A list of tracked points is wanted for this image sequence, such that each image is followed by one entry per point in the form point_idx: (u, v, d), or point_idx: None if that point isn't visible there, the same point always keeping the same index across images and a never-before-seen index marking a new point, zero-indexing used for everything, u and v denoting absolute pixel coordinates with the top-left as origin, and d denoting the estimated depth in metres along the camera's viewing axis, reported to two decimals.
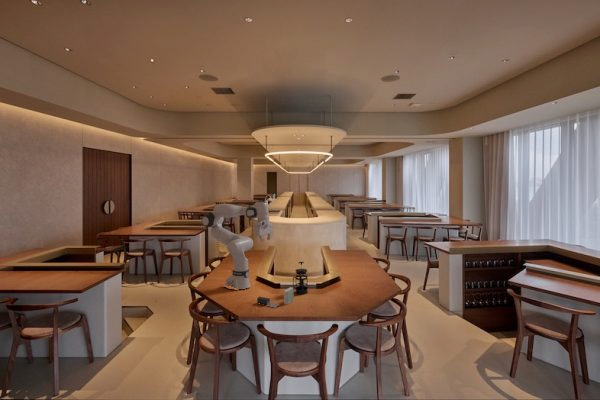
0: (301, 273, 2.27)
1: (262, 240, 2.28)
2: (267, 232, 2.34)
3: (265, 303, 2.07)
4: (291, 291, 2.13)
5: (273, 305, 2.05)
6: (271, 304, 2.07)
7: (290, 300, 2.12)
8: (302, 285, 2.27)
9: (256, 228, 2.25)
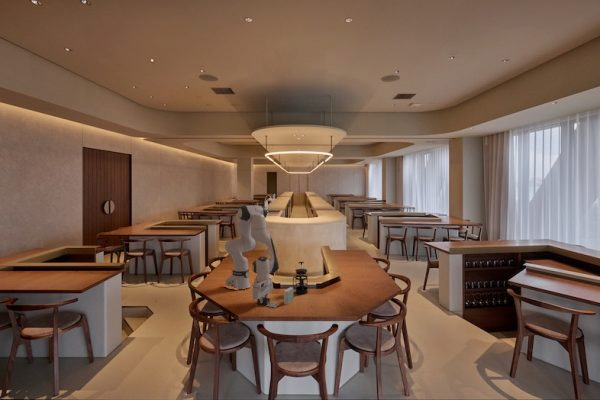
0: (301, 273, 2.27)
1: (262, 301, 2.07)
2: (266, 292, 2.10)
3: (265, 303, 2.08)
4: (291, 291, 2.13)
5: (273, 305, 2.05)
6: (271, 304, 2.07)
7: (290, 300, 2.12)
8: (302, 285, 2.27)
9: (254, 290, 2.01)
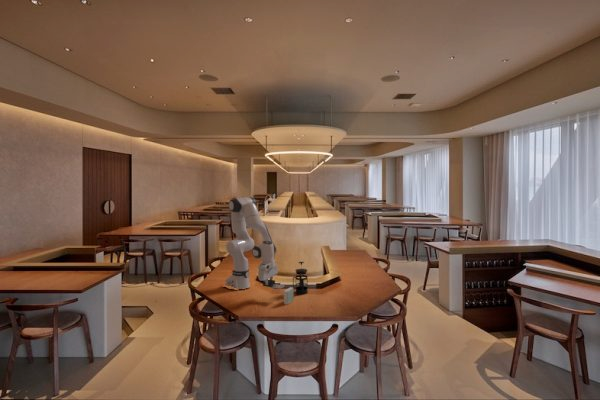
0: (301, 273, 2.27)
1: (267, 283, 2.16)
2: (271, 275, 2.19)
3: (271, 285, 2.17)
4: (291, 291, 2.13)
5: (278, 286, 2.14)
6: (276, 285, 2.16)
7: (290, 300, 2.12)
8: (302, 285, 2.27)
9: (260, 272, 2.11)
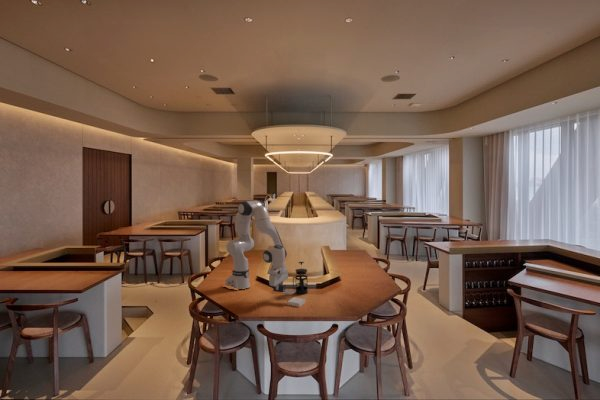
0: (301, 273, 2.27)
1: (278, 288, 2.13)
2: (282, 280, 2.16)
3: (281, 290, 2.13)
4: None
5: (289, 292, 2.11)
6: (287, 291, 2.13)
7: None
8: (302, 285, 2.27)
9: (271, 277, 2.07)
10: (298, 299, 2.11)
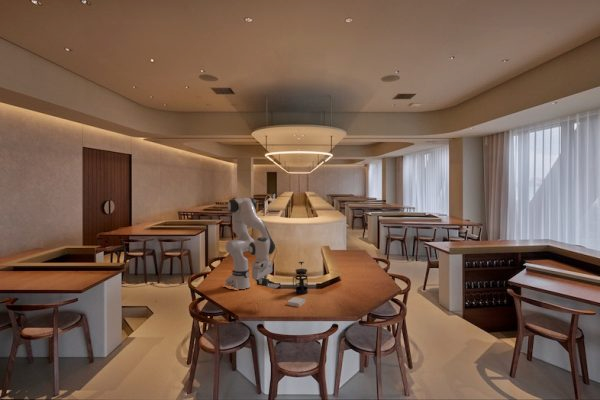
0: (301, 273, 2.27)
1: (261, 282, 2.05)
2: (265, 273, 2.08)
3: (265, 284, 2.05)
4: None
5: (273, 285, 2.03)
6: (271, 285, 2.05)
7: None
8: (302, 285, 2.27)
9: (254, 270, 1.99)
10: (298, 299, 2.11)
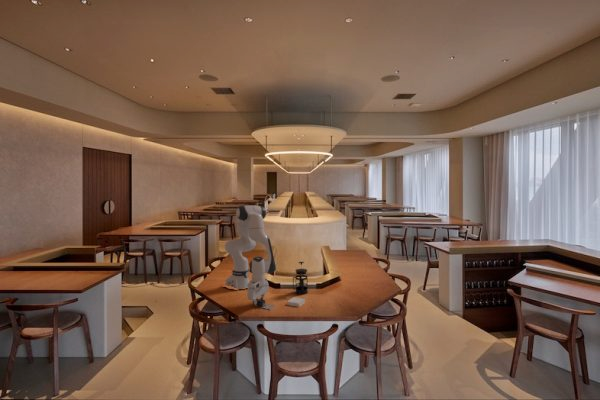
0: (301, 273, 2.27)
1: (256, 303, 2.03)
2: (261, 293, 2.07)
3: (261, 305, 2.04)
4: None
5: (269, 307, 2.02)
6: (267, 306, 2.04)
7: None
8: (302, 285, 2.27)
9: (249, 291, 1.98)
10: (298, 299, 2.11)
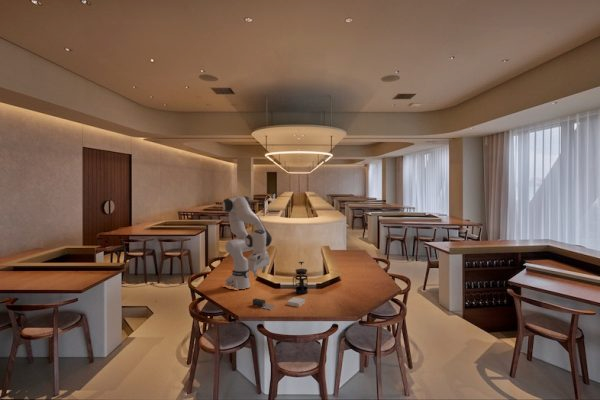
0: (301, 273, 2.27)
1: (256, 275, 2.04)
2: (262, 265, 2.09)
3: (261, 305, 2.04)
4: None
5: (269, 307, 2.02)
6: (267, 306, 2.04)
7: None
8: (302, 285, 2.27)
9: (250, 262, 2.01)
10: (298, 299, 2.11)
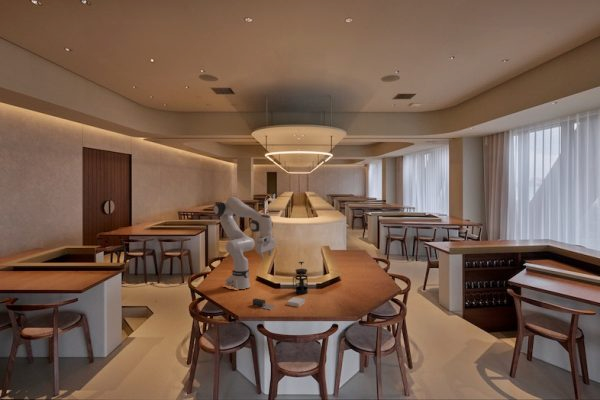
0: (301, 273, 2.27)
1: (263, 257, 2.17)
2: (269, 248, 2.22)
3: (261, 305, 2.04)
4: None
5: (269, 307, 2.02)
6: (267, 306, 2.04)
7: None
8: (302, 285, 2.27)
9: (258, 244, 2.13)
10: (298, 299, 2.11)
